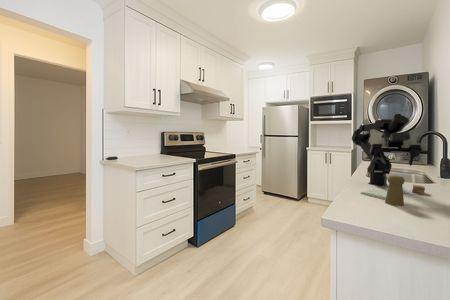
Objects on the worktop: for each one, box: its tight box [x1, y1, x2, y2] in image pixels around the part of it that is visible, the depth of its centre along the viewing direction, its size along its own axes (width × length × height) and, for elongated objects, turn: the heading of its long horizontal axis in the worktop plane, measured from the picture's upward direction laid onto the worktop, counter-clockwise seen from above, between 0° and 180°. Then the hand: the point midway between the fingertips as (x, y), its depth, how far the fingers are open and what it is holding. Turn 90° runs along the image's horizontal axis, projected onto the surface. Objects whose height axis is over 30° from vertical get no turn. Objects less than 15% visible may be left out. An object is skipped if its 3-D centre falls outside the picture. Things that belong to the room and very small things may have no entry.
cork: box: [384, 174, 405, 207], centre depth 88 cm, size 6×6×11 cm
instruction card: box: [384, 186, 417, 195], centre depth 108 cm, size 12×9×1 cm
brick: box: [411, 184, 426, 195], centre depth 104 cm, size 4×4×3 cm
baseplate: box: [360, 188, 387, 200], centre depth 100 cm, size 11×11×1 cm
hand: (398, 164), depth 99 cm, fingers open, 9 cm apart
